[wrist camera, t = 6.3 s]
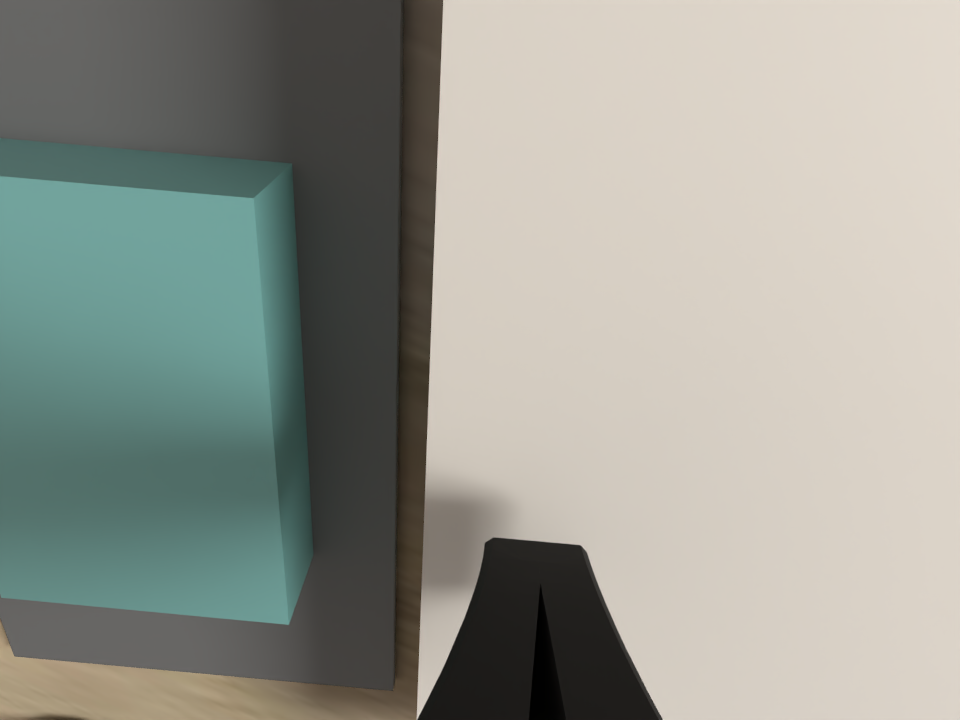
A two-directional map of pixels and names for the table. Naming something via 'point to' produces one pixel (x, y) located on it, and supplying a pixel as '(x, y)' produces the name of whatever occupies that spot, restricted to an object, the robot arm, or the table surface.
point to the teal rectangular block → (151, 383)
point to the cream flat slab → (707, 339)
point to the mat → (321, 275)
